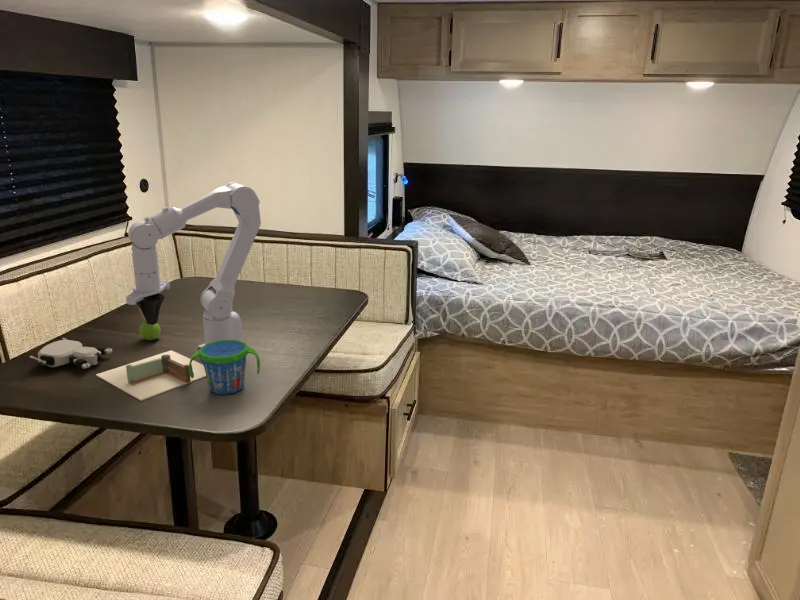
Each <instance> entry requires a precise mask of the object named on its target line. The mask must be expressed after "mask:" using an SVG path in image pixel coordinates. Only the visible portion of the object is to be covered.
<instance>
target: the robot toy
mask: <svg viewBox="0 0 800 600" xmlns="http://www.w3.org/2000/svg"><path fill="white" fill-rule="evenodd" d="M112 352H113V348H106V347H105V346H102V347H101V346H100V347H99V346H98V347H91V346H90V347H89V346H83V343H82V342H80V341H78V340H77V341H76V340H71V339H70V340H69V339H68V338H65V337H62V339H61V340H56V341H53V342H51V343H48V344H46V345H45V346H44V347H42V348H41V349H40V350H39V351H37V357H36V356H33V355H29V358H30V359H33V360H36V361H37V362H38V363H40V364H41V365H42V366H47V367H49V368H57V367H60V366H62V367H63V366H64V365H68V364H70V363H71V364H75V366H76V368H79V369H80V370H81V369H84V370H85V369H88V368H90V367H91V366H95V365H98V364H99V363H100V362H102V361H103V356H106V354H111V353H112Z"/></svg>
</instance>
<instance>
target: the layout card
mask: <svg viewBox="0 0 800 600" xmlns="http://www.w3.org/2000/svg"><path fill="white" fill-rule="evenodd" d="M162 355H170V359H172V360H174V361H176V362H178V363H180V364H182V365H189V363H190V360H191V358H189V357H188V356H186V355H185V356H184V355H182V354H180V353H179V352H177V351H174V350H168V351H165V352H161V353H158V354H155V355H153V356H149V357H146V358H143V359H140V360H137V361H134V362H130V363H128V364H124V365H120V366H119V367H116V368H112V369H109V370H106V371H102V372H100V373H96V374H95V376H96V377H97V378H99V379H101V380H103V381H105V382H107V383H108V384H110V385H112V386H113V387H115V388H117V389H119V390H120V391H122V392H124V393H126V394H128V395H130V396H131V397H133V398H135V399H137V400H139V401H140V402H143V401H145V400H148V399H150V398H153V397H155V396H158V395H161V394H164V393H166V392H170V391H172V390H175V389H177V388H180V387H183V386H185V385H188V384H190V383H193V382H196V381H199V380H201V379H203V378H207V376H206V373H205V369H204V366H203V363H202V362H201V363H200V362H198V361H197V360H194V359H193V361H192V363H191V365H192V369H193V373H194V378H191V376H190V380H191V382H188V383H186V382H185V381H184V380H182V379H180V378H178V377H176V376H174V375H172V374H170V373H169V372H168V373H164V372H162V373H159V374H156V375H153V376H150V377H146V378H143V379H140V380H137V381H134V382H132V383H128V379H127V371H126V366H127V365H132V366H134V365H138V364H141V363H145V362H148V361H151V360H155V359H158V358H161V356H162Z"/></svg>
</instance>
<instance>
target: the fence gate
mask: <svg viewBox="0 0 800 600" xmlns="http://www.w3.org/2000/svg"><path fill="white" fill-rule="evenodd" d="M126 365H127V364H126ZM126 371H127V379H128V383H132V382H134V381H137V380H140V379H143V378H146V377H150V376H153V375H156V374H159V373H162V372H163V368H162V359H161V358H158V359H155V360H151V361H148V362H145V363H141V364H138V365H134V366H132V365H127V366H126Z"/></svg>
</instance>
